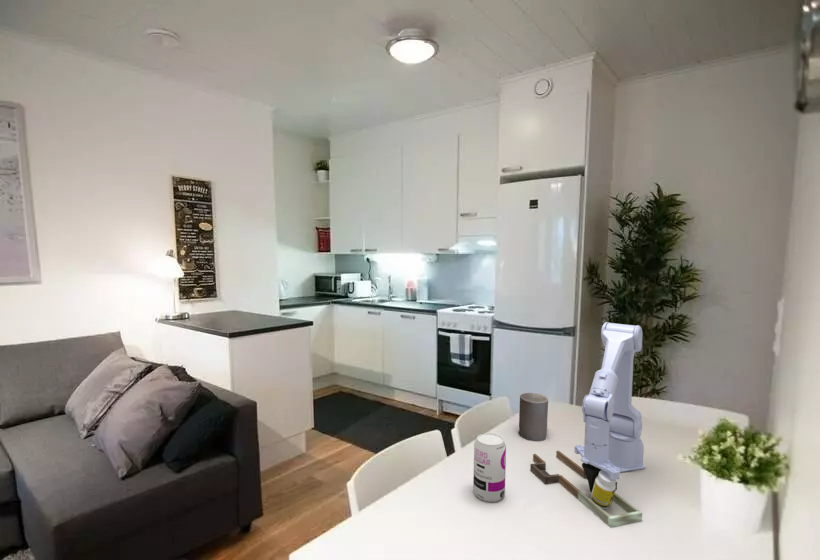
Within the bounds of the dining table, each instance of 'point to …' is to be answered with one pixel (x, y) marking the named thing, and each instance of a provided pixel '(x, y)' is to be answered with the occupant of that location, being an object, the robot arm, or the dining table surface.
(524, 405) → the pillar candle
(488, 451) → the supplement can
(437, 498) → the dining table surface
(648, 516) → the dining table surface
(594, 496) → the supplement bottle
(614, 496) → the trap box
